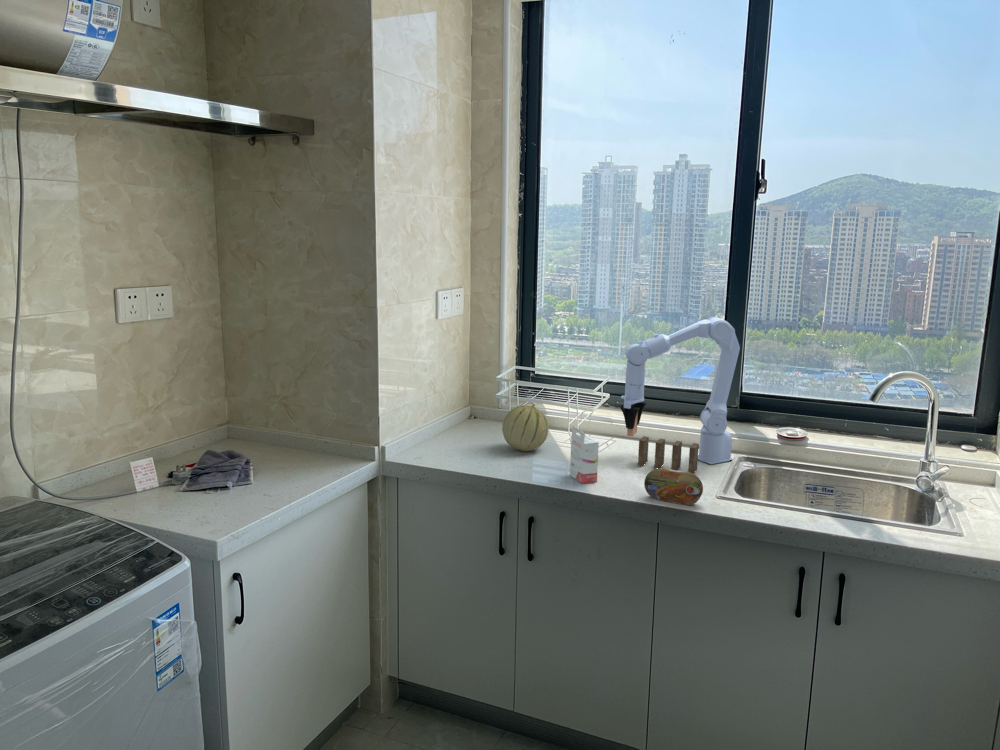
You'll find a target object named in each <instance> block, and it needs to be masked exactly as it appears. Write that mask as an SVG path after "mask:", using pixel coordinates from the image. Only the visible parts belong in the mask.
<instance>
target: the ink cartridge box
mask: <svg viewBox="0 0 1000 750" xmlns="http://www.w3.org/2000/svg"><path fill="white" fill-rule="evenodd" d="M577 433H578V434H577ZM599 443H600V442H599V441H597V440H595V439H594V438H592V437H590V436H588V435H587V434H586V433H585V432H584V431H583V430H581V429H579V428H578V427H576V426H574V425H573V426H572V429H571V439H570V459H569V461H570V464H569V475H570V476H571V477H572V476H573V478H574V479H575V480H577V481H578V482H579V481H580V483H581V484H582V483H583V484H591V483H592V482H593V483H597V482H598V464H599Z"/></svg>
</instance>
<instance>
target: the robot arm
mask: <svg viewBox="0 0 1000 750" xmlns="http://www.w3.org/2000/svg"><path fill="white" fill-rule="evenodd" d="M697 337H698V338H706V339H709V338H710V339H712V340H713V341H715V343H716V344H717V345H718V348H719V349H720V356H719V359H718V363H717V367H716V370H715V371H716V372H715V376H714V380H713V384H712V388H711V393H710V395H709V399H708V400H707V402H706V404H705V407H704V409H703V410H702V411H701V413H700V416H699V418H700V422H701V424H702V427H701V428H700V433H699V434H700V435H699V449H698V461H701V462H704V463H706V464H709V465H715V464H720V463H726V462H731V461H730V460H732V461H733V458H731V457H732V447H733V446H732V444H733V440H732V435H731V433H729V431H727V428H728V421H727V416H728V415H727V414H728V409H727V403H728V398H729V394H730V391H731V387H732V382H733V378H734V374H735V371H736V366H737V362H738V357H739V355H740V350H741V347H740V344H739V341H738V337H737V335H736V329H735V328H734V326H732V324H731V323H729V322H728V321H727V320H724V319H722V318H720V317H718V316H711V317H709V318H707V319H706V318H705V319H701V320H699V321H697V322H694V323H692V324H690V325H688V326H685V327H684V328H682V329H679V330H677V331H676V332H673V333H671V334H669V335H666V334H664V333H661V334H659V333H655V334H653V336H652V337H650V338H648V339H645V340H639V341H638V343H639V344H638V343H633V344H632V343H631V345H629V346H628V347H627V349H626V351H625V357H626V359H627V361H626V368H625V386H624V395H621V396H620V399H621V400H623V404H622V405H620V409H621V412H622V415H623V417H624V422H625V423H624V424H625V428H626V429H633V428H634V425H635V420H636V416H637V413H638V421H637V426H638V425H640V421H641V418H642V414H643V412H644V409H645V407H646V406H647V401H645V397H644V396H645V378H646V377H645V376H646V369H645V368H646V362H647V361H648V360H651V359H653V358H656V357H658V356H661V355H663V354H665V353H668V352H670V351H671V348H672V346H674V345H677V344H679V343H683V342H685V341H688V340H691V339H694V338H697ZM636 407H637V408H636Z"/></svg>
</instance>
